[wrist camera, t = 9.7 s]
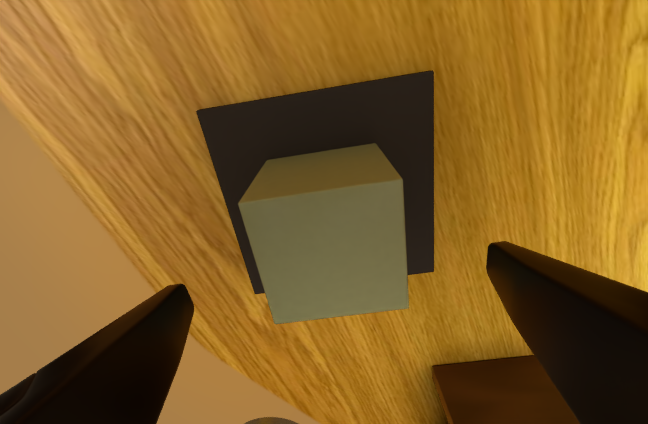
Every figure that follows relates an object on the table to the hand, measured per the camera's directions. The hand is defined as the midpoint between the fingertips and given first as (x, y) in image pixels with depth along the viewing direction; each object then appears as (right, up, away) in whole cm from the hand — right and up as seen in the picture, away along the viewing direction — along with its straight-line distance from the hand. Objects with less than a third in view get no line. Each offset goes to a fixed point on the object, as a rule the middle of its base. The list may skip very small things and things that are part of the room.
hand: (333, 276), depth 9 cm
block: (0, +2, +6) cm, 6 cm away
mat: (0, +3, +6) cm, 7 cm away
